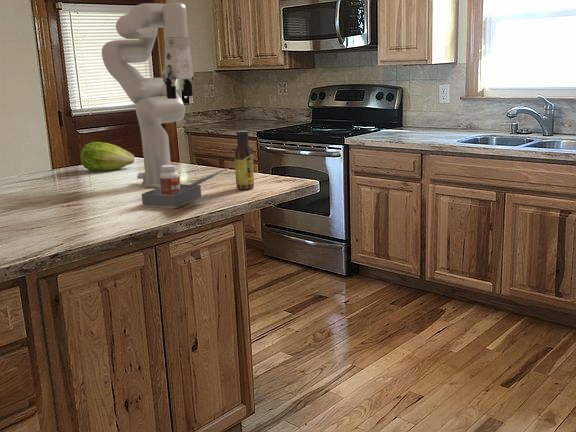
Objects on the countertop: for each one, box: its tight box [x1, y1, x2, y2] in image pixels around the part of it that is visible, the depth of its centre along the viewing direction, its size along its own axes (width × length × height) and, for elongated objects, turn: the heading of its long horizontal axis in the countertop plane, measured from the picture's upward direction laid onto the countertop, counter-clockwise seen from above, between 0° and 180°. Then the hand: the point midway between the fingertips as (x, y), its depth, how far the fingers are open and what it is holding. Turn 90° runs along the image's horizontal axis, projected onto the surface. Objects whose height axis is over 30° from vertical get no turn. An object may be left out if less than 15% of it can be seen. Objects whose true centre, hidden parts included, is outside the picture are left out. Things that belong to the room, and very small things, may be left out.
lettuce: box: [80, 141, 136, 172], centre depth 261 cm, size 13×22×14 cm
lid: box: [175, 168, 229, 194], centre depth 193 cm, size 12×16×1 cm
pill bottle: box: [160, 164, 181, 195], centre depth 198 cm, size 6×6×11 cm
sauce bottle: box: [234, 130, 255, 191], centre depth 212 cm, size 7×6×20 cm
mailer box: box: [141, 183, 202, 209], centre depth 199 cm, size 12×16×4 cm
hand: (180, 97), depth 204 cm, fingers open, 9 cm apart
